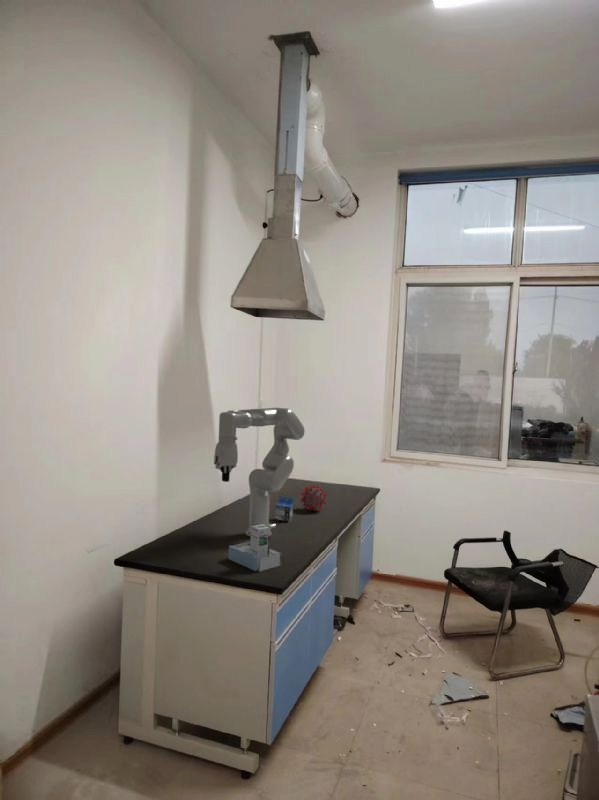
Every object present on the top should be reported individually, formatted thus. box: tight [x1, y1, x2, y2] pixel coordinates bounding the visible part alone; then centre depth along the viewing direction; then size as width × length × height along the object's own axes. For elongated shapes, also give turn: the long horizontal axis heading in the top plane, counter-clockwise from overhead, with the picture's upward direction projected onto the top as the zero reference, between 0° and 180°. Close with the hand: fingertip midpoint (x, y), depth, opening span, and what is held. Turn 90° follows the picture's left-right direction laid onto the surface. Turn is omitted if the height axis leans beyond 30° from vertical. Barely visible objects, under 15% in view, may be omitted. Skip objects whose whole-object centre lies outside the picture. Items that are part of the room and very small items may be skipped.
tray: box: [228, 545, 273, 572], centre depth 208 cm, size 11×17×5 cm, turn 45°
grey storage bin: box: [232, 540, 282, 573], centre depth 209 cm, size 11×19×5 cm, turn 45°
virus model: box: [300, 484, 327, 512], centre depth 297 cm, size 14×15×15 cm
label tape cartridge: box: [274, 495, 294, 523], centre depth 273 cm, size 9×4×12 cm, turn 62°
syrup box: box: [250, 524, 271, 561], centre depth 205 cm, size 6×6×14 cm
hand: (225, 481), depth 226 cm, fingers closed
